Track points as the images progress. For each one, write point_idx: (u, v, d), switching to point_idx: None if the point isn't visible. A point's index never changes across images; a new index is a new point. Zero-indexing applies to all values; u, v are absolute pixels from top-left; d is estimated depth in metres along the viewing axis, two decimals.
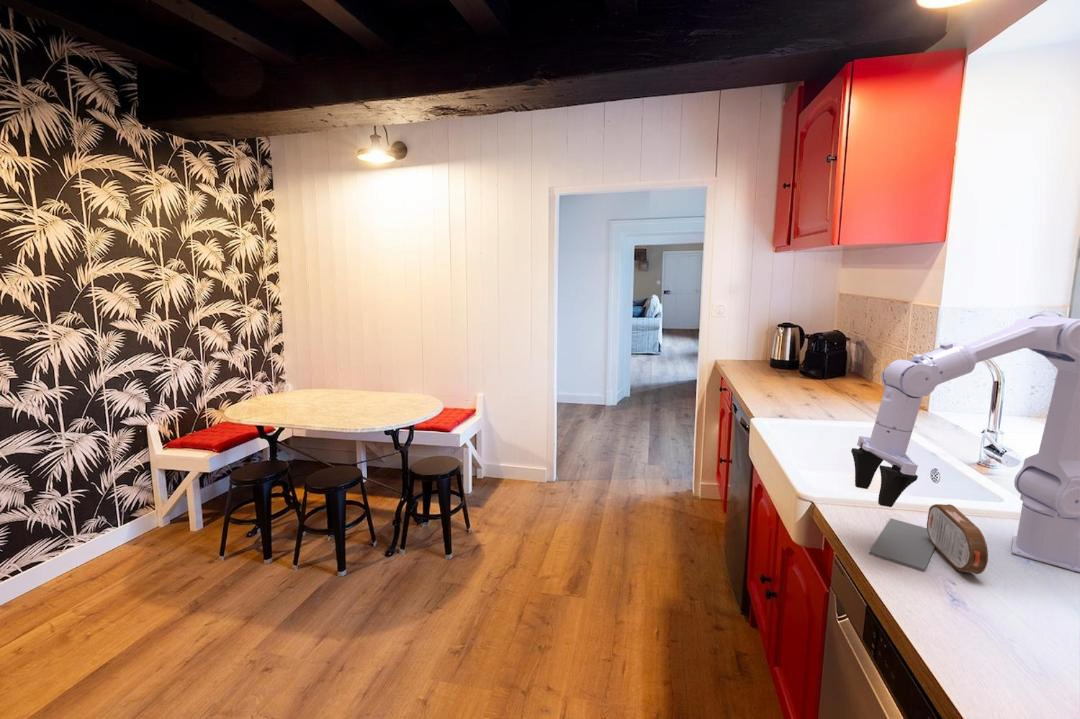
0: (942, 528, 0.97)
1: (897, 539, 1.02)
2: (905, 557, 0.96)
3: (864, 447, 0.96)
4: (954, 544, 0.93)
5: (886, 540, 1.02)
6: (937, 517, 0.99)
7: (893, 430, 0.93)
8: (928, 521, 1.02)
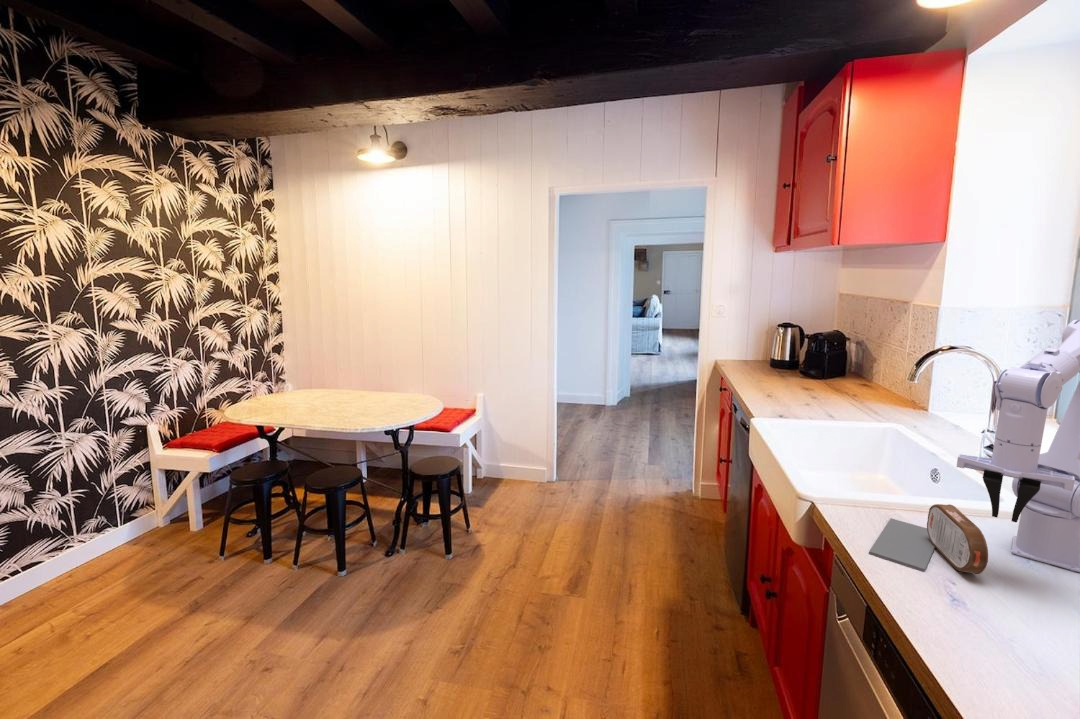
0: (942, 528, 0.97)
1: (897, 539, 1.02)
2: (905, 557, 0.96)
3: (1012, 474, 0.86)
4: (954, 544, 0.93)
5: (886, 540, 1.02)
6: (937, 517, 0.99)
7: (1037, 447, 0.85)
8: (928, 521, 1.02)
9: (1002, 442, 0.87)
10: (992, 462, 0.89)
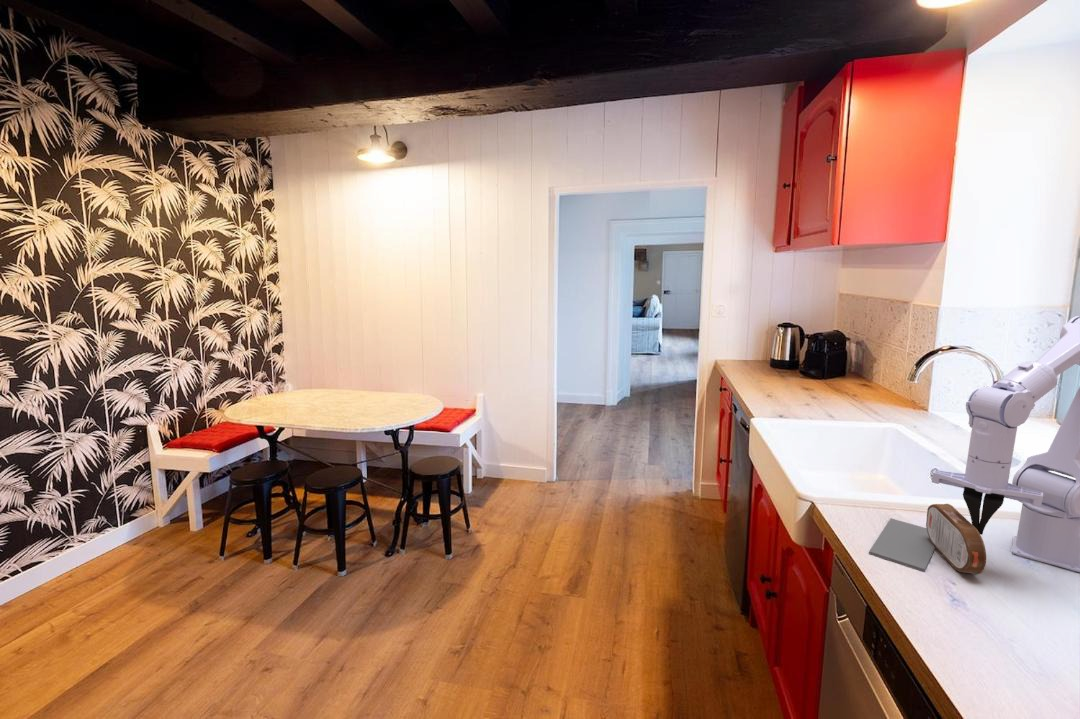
0: (941, 528, 0.97)
1: (897, 539, 1.02)
2: (905, 557, 0.96)
3: (983, 490, 0.88)
4: (953, 544, 0.93)
5: (886, 540, 1.02)
6: (935, 517, 0.99)
7: (1007, 464, 0.88)
8: (927, 521, 1.02)
9: (974, 459, 0.90)
10: (965, 478, 0.92)
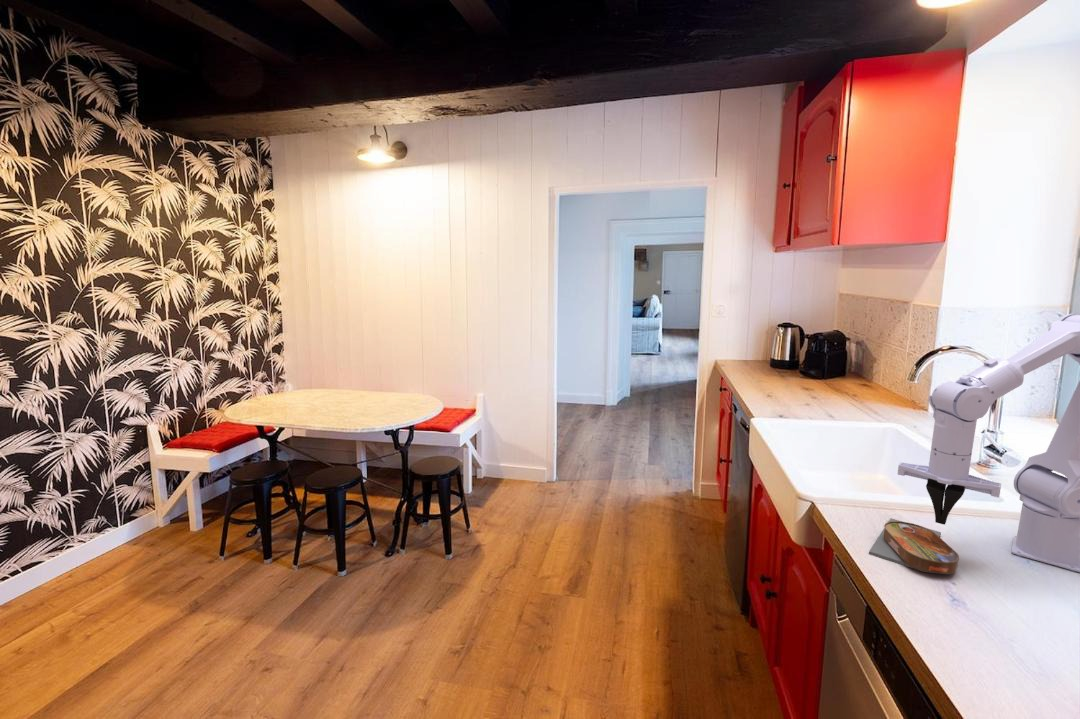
0: None
1: None
2: None
3: (944, 481, 0.92)
4: None
5: None
6: None
7: (967, 457, 0.91)
8: None
9: (936, 452, 0.94)
10: (928, 470, 0.96)
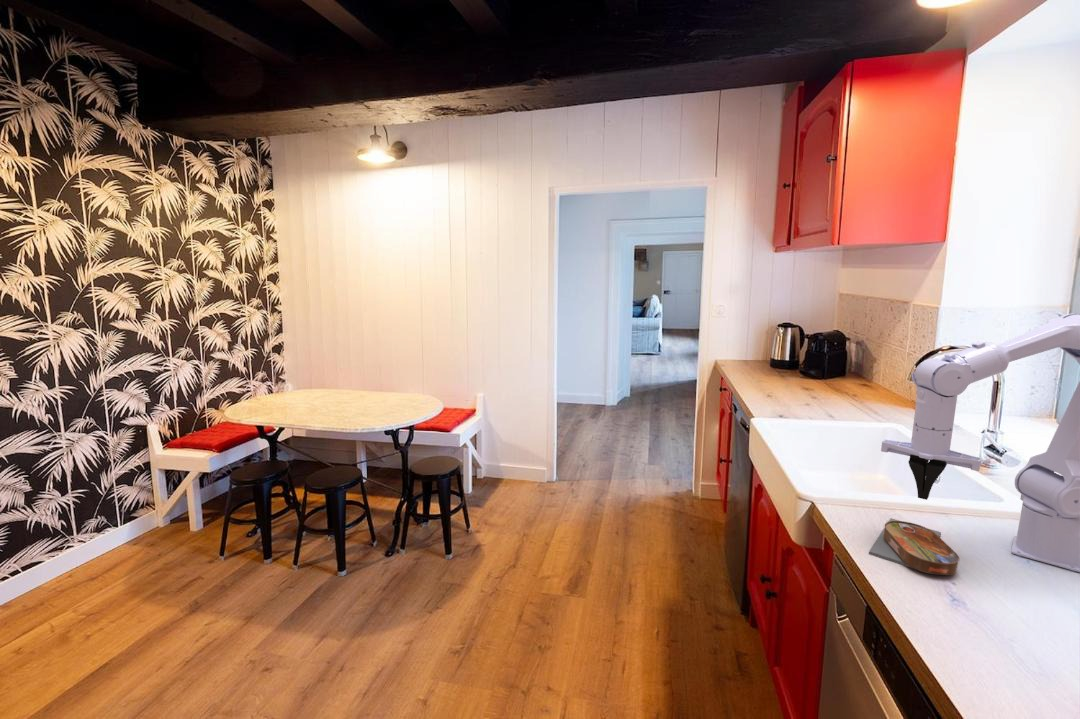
0: None
1: None
2: None
3: (926, 456, 0.93)
4: None
5: None
6: None
7: (948, 432, 0.93)
8: None
9: (918, 427, 0.95)
10: (911, 446, 0.97)
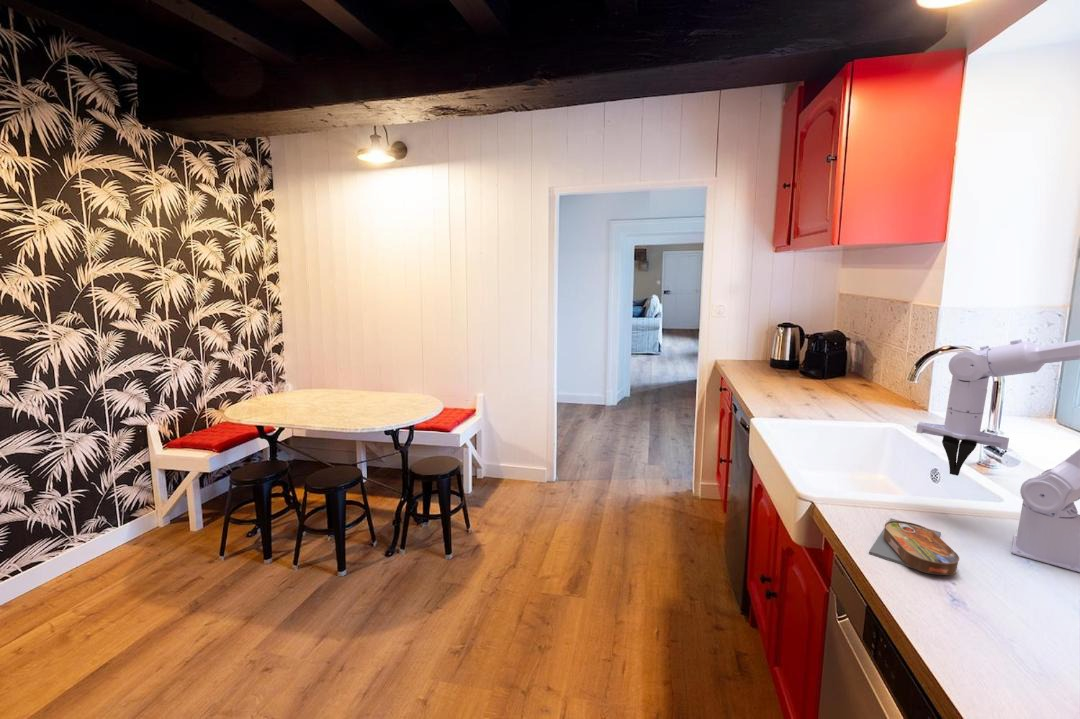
0: None
1: None
2: None
3: (959, 436, 1.04)
4: None
5: None
6: None
7: (979, 414, 1.04)
8: None
9: (952, 411, 1.06)
10: (944, 428, 1.08)
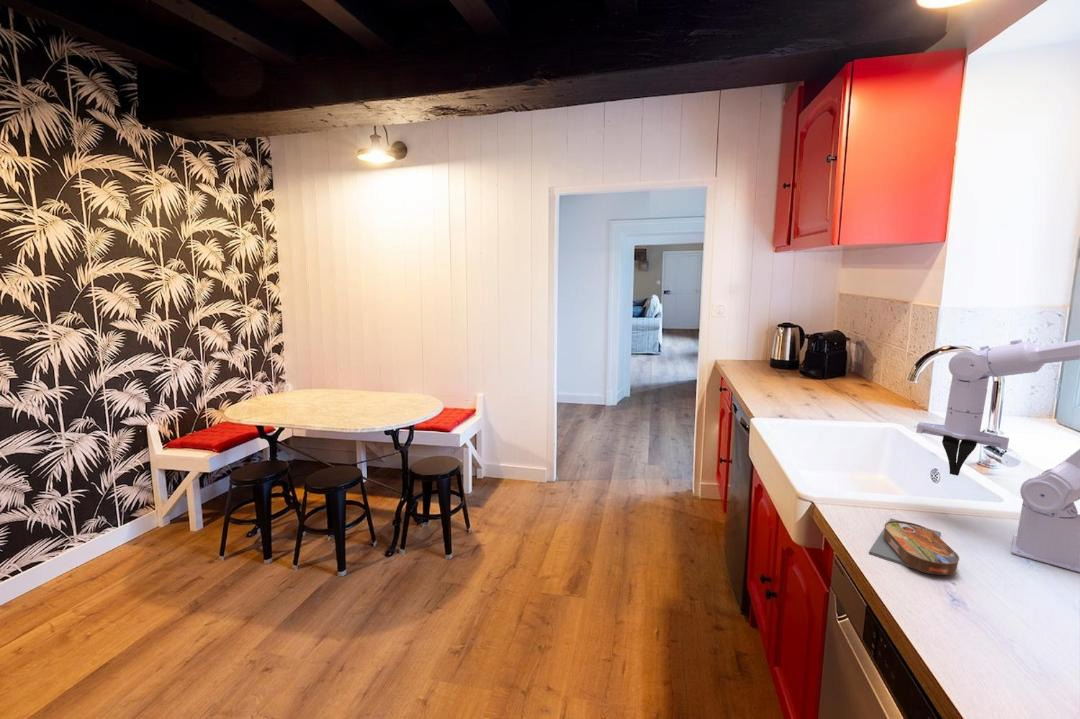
0: None
1: None
2: None
3: (959, 436, 1.04)
4: None
5: None
6: None
7: (979, 414, 1.04)
8: None
9: (952, 411, 1.06)
10: (944, 428, 1.08)
